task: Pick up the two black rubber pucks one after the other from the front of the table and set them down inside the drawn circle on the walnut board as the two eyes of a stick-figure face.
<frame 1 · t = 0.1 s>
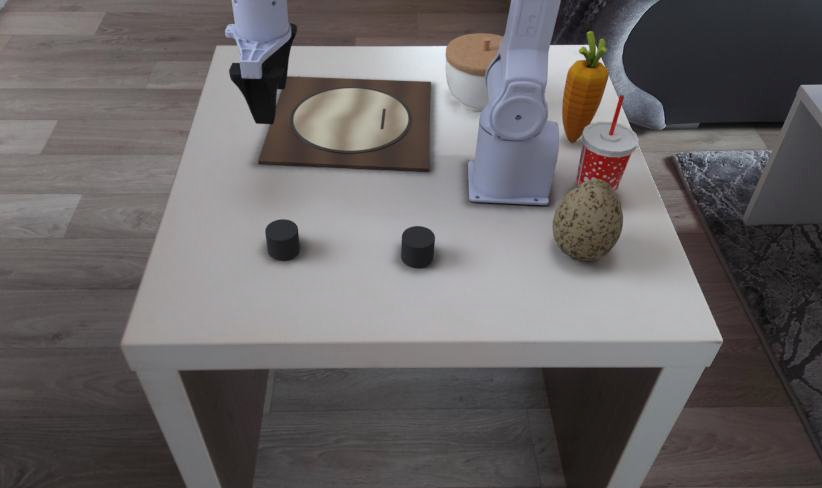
hand: (270, 104, 81), 10 cm above the table, tool pointing down, fingers open, 7 cm apart
beverage cup: (592, 200, 85), on the table
eye puck b: (417, 256, 77), on the table
trinket box: (478, 101, 101), on the table
carrot: (571, 144, 93), on the table
face board: (351, 121, 97), on the table
eye puck a: (283, 249, 78), on the table
decorative egg: (578, 254, 78), on the table
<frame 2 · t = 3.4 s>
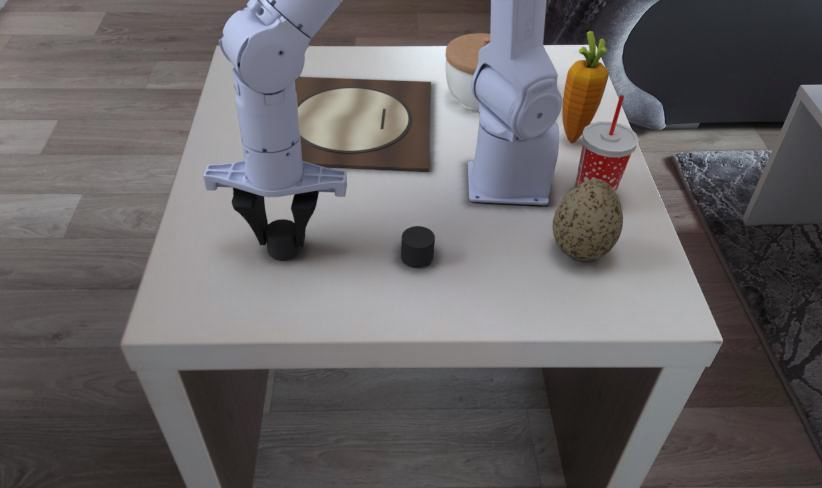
hand: (282, 240, 77), 1 cm above the table, tool pointing down, fingers closed on eye puck a, 3 cm apart
eye puck a: (283, 249, 78), on the table, touching gripper
everything else where it was.
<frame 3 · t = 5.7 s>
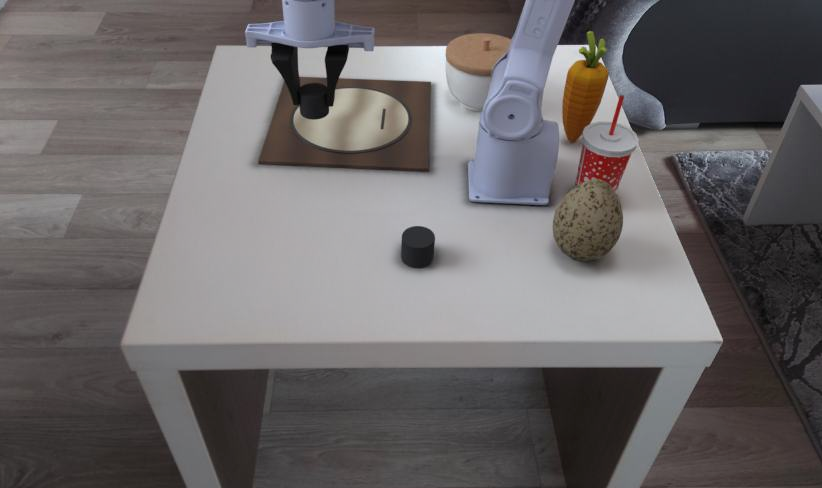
hand: (314, 101, 85), 8 cm above the table, tool pointing down, fingers closed on eye puck a, 3 cm apart
eye puck a: (314, 111, 86), point 7 cm above the table, touching gripper
everything else where it was.
when the fingers open (2 cm above the table, at t = 8.0 s): eye puck a stays where it is, resting on face board.
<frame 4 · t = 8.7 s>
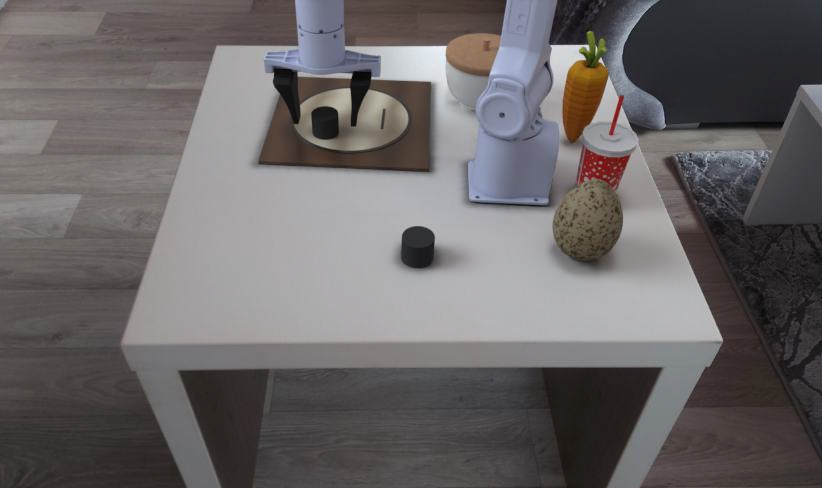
hand: (325, 121, 93), 2 cm above the table, tool pointing down, fingers open, 7 cm apart
eye puck a: (325, 132, 94), point 1 cm above the table, touching face board
everything else where it was.
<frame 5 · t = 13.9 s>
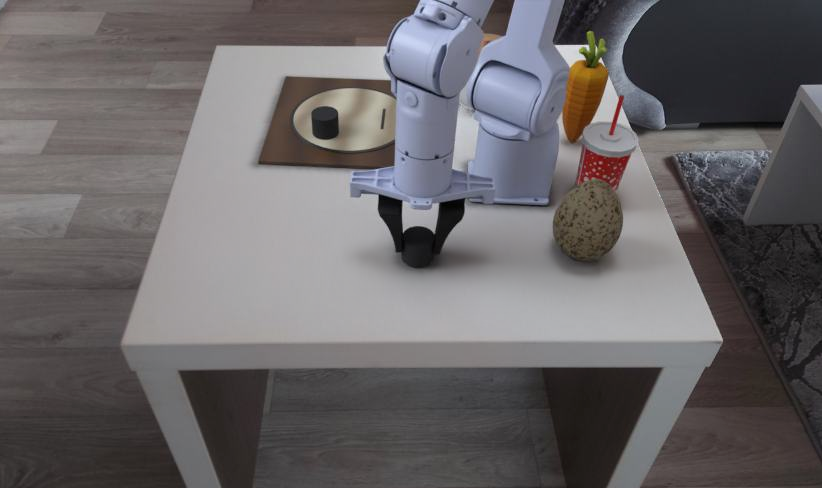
hand: (417, 247, 76), 1 cm above the table, tool pointing down, fingers closed on eye puck b, 3 cm apart
eye puck b: (417, 256, 77), on the table, touching gripper
everything else where it was.
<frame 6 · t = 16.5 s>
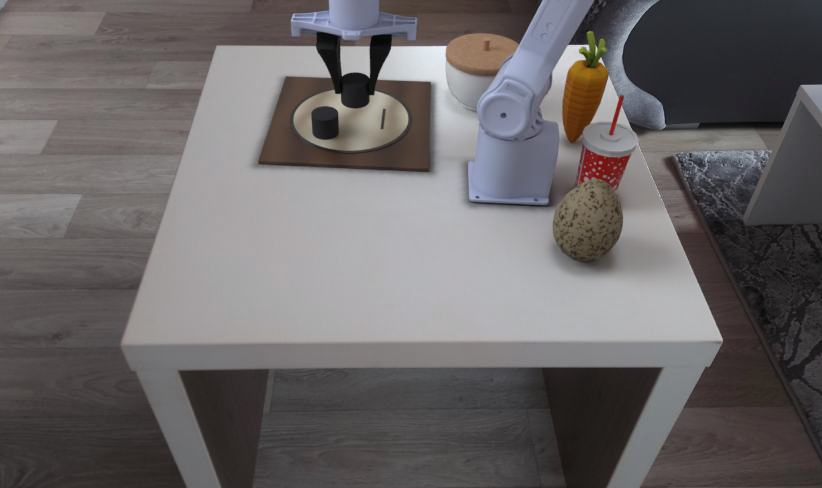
hand: (354, 90, 86), 8 cm above the table, tool pointing down, fingers closed on eye puck b, 3 cm apart
eye puck b: (355, 101, 87), point 7 cm above the table, touching gripper
everything else where it was.
when the fingers open (2 cm above the table, at t = 19.2 s): eye puck b stays where it is, resting on face board.
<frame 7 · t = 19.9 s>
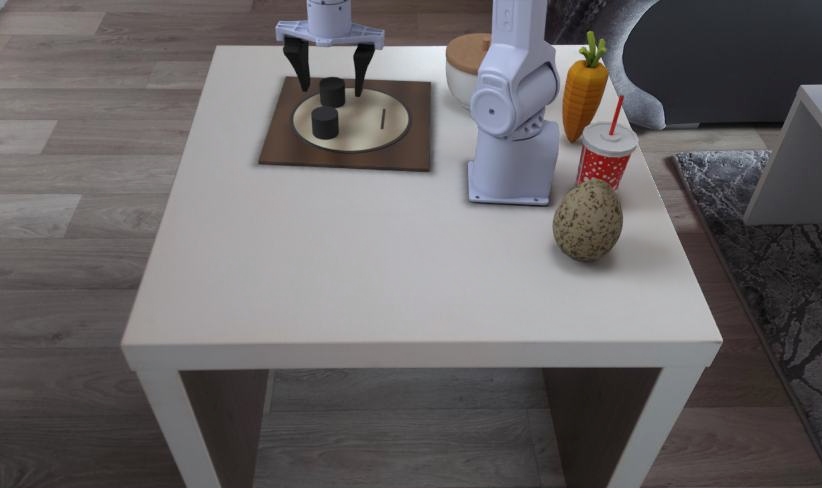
hand: (332, 90, 98), 2 cm above the table, tool pointing down, fingers open, 7 cm apart
eye puck b: (332, 101, 100), point 1 cm above the table, touching face board
everything else where it was.
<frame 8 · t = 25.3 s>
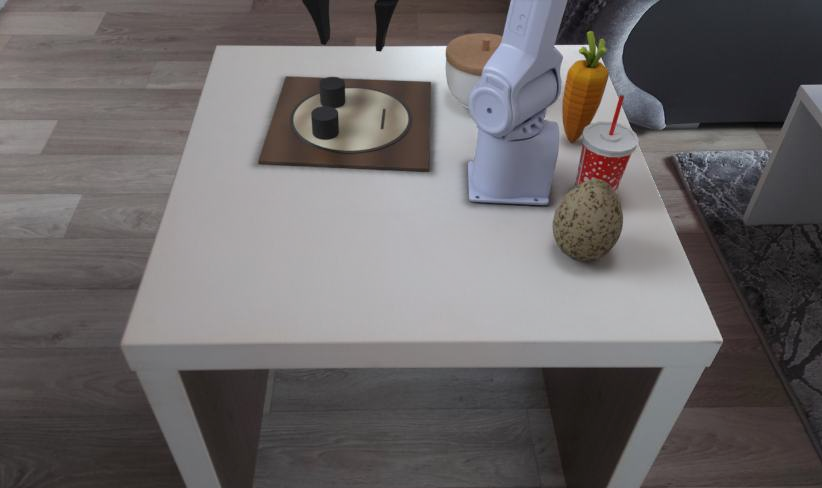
hand: (352, 44, 93), 9 cm above the table, tool pointing down, fingers open, 7 cm apart
nothing on the table moved.
at the end: eye puck a inside the target area on the face board (0.9 cm from its centre), point 0.6 cm above the face board's base; eye puck b inside the target area on the face board (0.8 cm from its centre), point 0.6 cm above the face board's base; eye puck b tilted 0° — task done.
